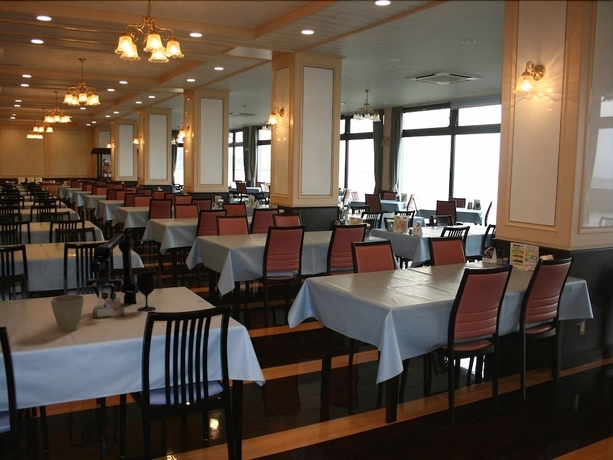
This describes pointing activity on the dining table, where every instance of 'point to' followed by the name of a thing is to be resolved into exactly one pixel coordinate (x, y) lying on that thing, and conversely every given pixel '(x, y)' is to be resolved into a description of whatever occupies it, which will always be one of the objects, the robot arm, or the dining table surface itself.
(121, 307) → the walnut board
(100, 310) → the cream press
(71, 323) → the plant pot
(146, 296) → the wine glass
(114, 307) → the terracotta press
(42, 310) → the dining table surface
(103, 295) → the black plunger
